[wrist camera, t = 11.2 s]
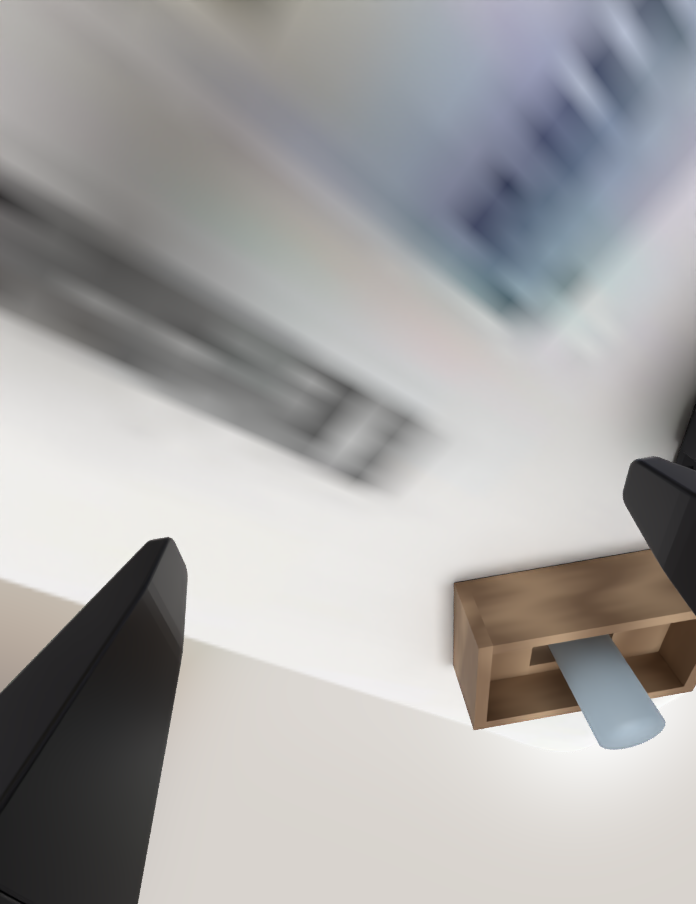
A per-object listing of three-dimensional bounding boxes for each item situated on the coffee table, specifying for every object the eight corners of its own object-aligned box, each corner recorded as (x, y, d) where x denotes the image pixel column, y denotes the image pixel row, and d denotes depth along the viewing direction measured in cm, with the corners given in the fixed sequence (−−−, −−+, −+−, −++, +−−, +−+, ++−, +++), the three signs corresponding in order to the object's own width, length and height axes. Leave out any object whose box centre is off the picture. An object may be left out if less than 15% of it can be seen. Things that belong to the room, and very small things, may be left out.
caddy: (682, 543, 29) (740, 602, 26) (648, 631, 34) (692, 691, 31) (453, 583, 29) (478, 648, 25) (453, 665, 34) (473, 730, 30)
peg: (590, 587, 31) (673, 709, 24) (581, 620, 33) (655, 742, 26) (536, 596, 31) (604, 722, 24) (530, 629, 33) (592, 754, 26)
